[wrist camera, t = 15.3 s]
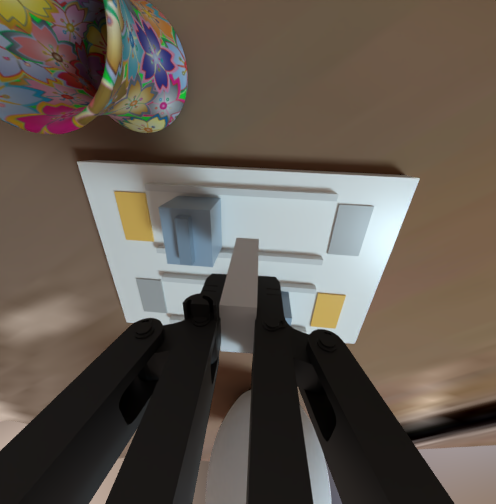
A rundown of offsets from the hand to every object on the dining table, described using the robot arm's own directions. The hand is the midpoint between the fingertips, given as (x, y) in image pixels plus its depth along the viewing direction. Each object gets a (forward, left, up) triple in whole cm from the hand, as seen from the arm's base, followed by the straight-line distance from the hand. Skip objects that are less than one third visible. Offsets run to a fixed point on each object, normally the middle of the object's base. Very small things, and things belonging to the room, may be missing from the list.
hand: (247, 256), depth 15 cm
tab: (-5, 0, -7) cm, 8 cm away
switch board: (-1, -5, -9) cm, 10 cm away
